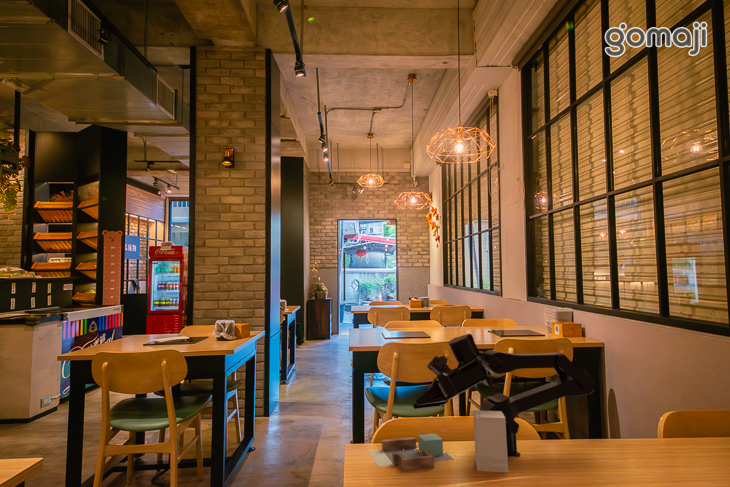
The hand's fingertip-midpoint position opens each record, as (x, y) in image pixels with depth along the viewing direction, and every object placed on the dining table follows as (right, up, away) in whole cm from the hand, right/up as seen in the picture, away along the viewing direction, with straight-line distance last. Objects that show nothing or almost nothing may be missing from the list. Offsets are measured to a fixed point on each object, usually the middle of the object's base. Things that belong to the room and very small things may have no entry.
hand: (414, 405), depth 114 cm
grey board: (-1, -13, 0) cm, 14 cm away
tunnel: (-2, -13, -2) cm, 14 cm away
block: (+4, -13, +1) cm, 14 cm away
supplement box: (+18, -12, -8) cm, 23 cm away
